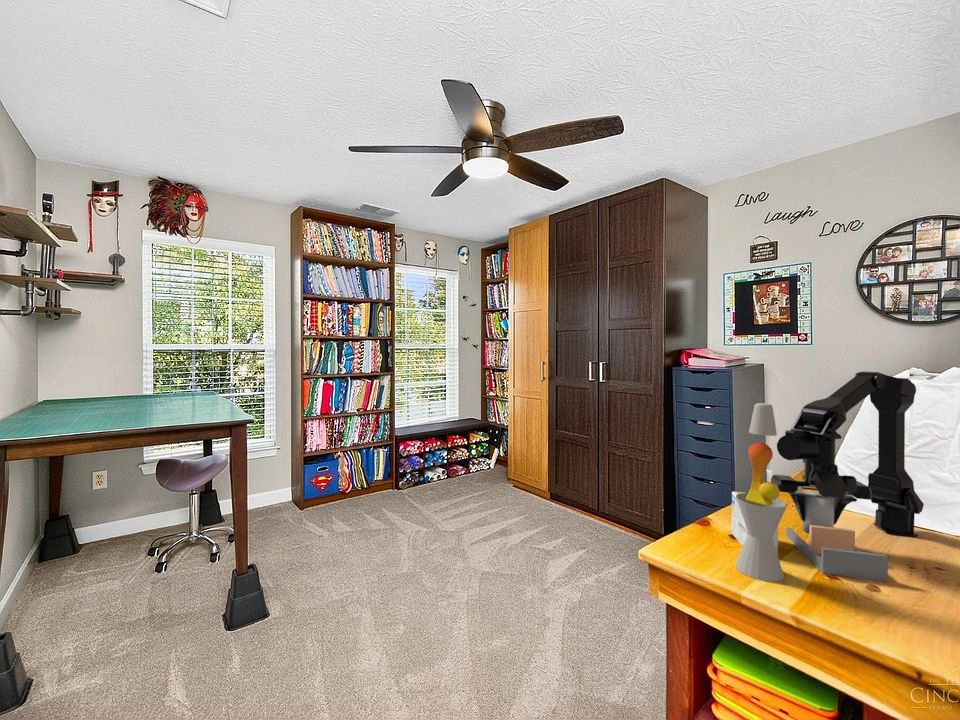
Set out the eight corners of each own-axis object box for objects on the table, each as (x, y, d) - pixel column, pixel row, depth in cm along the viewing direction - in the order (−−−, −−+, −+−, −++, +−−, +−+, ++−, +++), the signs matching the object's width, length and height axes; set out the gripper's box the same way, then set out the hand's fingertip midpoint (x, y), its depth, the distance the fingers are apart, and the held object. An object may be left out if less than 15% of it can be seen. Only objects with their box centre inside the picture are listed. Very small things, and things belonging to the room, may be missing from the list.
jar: (826, 529, 108) (827, 492, 108) (838, 539, 103) (839, 500, 103) (798, 526, 110) (799, 490, 110) (808, 535, 104) (809, 497, 104)
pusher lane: (837, 540, 108) (838, 520, 108) (887, 581, 89) (888, 556, 89) (785, 535, 111) (786, 515, 111) (822, 573, 92) (823, 549, 92)
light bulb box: (778, 555, 100) (780, 507, 100) (746, 551, 101) (747, 505, 101) (759, 535, 110) (760, 492, 110) (729, 533, 112) (730, 490, 112)
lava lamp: (726, 568, 93) (730, 402, 92) (744, 556, 99) (749, 400, 98) (775, 587, 86) (780, 407, 85) (792, 573, 92) (797, 404, 91)
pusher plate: (851, 555, 99) (852, 529, 99) (854, 558, 98) (855, 531, 98) (808, 550, 101) (809, 524, 101) (810, 553, 100) (811, 526, 100)
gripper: (787, 462, 101) (786, 530, 101) (887, 469, 96) (885, 540, 96) (770, 451, 112) (769, 513, 112) (859, 457, 106) (857, 522, 107)
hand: (817, 522), depth 106 cm, fingers closed on jar, 6 cm apart
